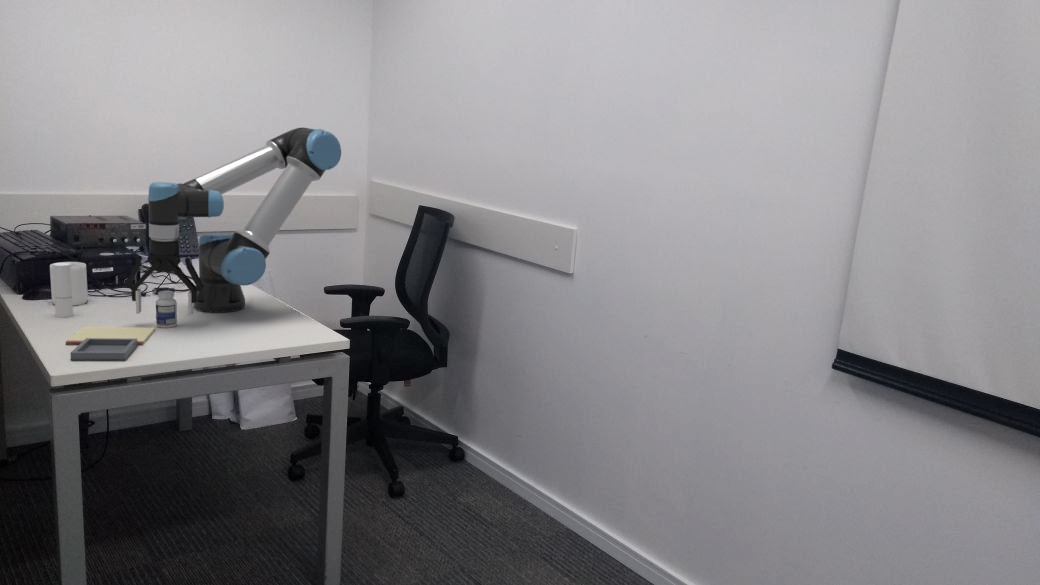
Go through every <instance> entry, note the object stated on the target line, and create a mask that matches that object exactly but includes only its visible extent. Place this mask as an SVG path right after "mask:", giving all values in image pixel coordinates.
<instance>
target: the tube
mask: <svg viewBox="0 0 1040 585" xmlns="http://www.w3.org/2000/svg"><path fill="white" fill-rule="evenodd" d="M52 264H53V263H52ZM53 277H54V294H55V304H54V305H55V306H54V308H55V310H54V311H55V317H56V318H70V317H73V316H74V306H73V303H72V285H71V267H70V263H59V262H55V263H54V264H53Z"/></svg>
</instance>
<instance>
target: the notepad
mask: <svg viewBox="0 0 1040 585" xmlns="http://www.w3.org/2000/svg"><path fill="white" fill-rule="evenodd" d="M155 331H156V328H155V327H146V326H145V327H144V326H143V327H141V326H139V327H137V326H136V327H134V326H133V327H132V326H130V327H129V326H127V327H126V326H122V327H121V326H82V327H81V328H80V329H79V330H77V331H76V332H75V333H74V334H73V335H72V336H70V338H68V339H67V340H66V341H65V345H66V346H78V345H79V344H81V343H82V342H83V341H84V340H85V339H86V338H119V339H138V346H139V345H142V346H143V345H144V344H146V343H147V341H148V339H149V338H150V337H151V336H152V335H153V333H155ZM151 334H152V335H151ZM146 340H147V341H146Z"/></svg>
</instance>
